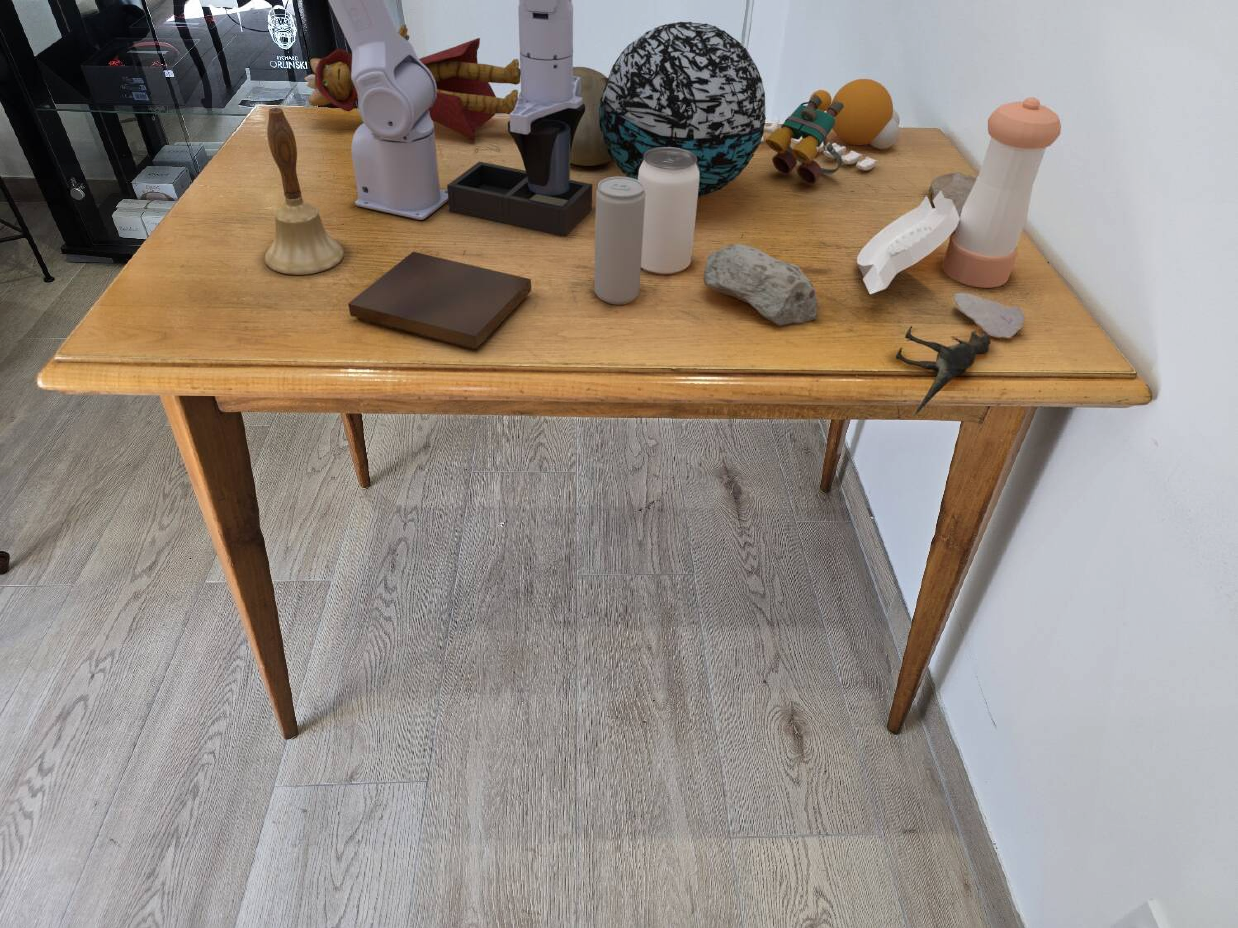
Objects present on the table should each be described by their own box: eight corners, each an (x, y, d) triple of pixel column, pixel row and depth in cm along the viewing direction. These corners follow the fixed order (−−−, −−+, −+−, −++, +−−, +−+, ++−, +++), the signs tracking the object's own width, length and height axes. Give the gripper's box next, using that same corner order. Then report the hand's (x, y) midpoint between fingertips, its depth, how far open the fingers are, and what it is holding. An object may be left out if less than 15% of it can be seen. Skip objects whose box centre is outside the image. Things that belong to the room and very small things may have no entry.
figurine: (513, 137, 118) (293, 130, 119) (527, 169, 131) (328, 162, 132) (519, 18, 118) (299, 11, 119) (531, 61, 131) (332, 55, 132)
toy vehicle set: (866, 165, 119) (862, 178, 121) (879, 157, 122) (876, 170, 123) (791, 136, 125) (789, 149, 126) (806, 129, 127) (803, 142, 128)
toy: (806, 171, 128) (910, 155, 127) (807, 105, 121) (917, 88, 120) (793, 141, 134) (893, 126, 133) (794, 78, 127) (898, 61, 127)
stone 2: (1006, 348, 89) (1014, 332, 88) (938, 317, 92) (945, 301, 91) (1027, 325, 92) (1034, 309, 91) (961, 295, 95) (967, 279, 94)
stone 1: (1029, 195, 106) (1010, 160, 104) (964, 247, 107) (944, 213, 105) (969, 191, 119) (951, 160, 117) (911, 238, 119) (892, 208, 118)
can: (697, 255, 101) (708, 151, 93) (681, 280, 96) (692, 174, 88) (643, 244, 102) (649, 141, 95) (625, 269, 98) (630, 163, 90)
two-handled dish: (981, 189, 103) (976, 175, 102) (925, 274, 86) (918, 258, 86) (900, 222, 110) (894, 209, 109) (833, 307, 93) (826, 292, 93)
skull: (598, 94, 130) (609, 25, 120) (625, 189, 123) (639, 124, 113) (521, 98, 127) (526, 27, 117) (544, 194, 120) (551, 128, 110)
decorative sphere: (637, 239, 103) (648, 57, 90) (572, 172, 117) (573, 7, 104) (784, 214, 110) (814, 41, 97) (706, 154, 123) (723, -4, 110)
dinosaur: (925, 325, 92) (988, 355, 90) (852, 404, 79) (923, 442, 76) (939, 295, 90) (1004, 325, 88) (866, 372, 76) (941, 409, 74)
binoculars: (770, 180, 123) (754, 129, 114) (810, 132, 124) (797, 77, 115) (825, 203, 118) (812, 150, 109) (866, 153, 119) (856, 97, 110)
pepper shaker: (974, 293, 96) (1035, 115, 84) (928, 264, 101) (979, 91, 89) (1022, 280, 99) (1088, 106, 87) (974, 252, 104) (1031, 83, 91)
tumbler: (520, 190, 103) (518, 130, 99) (538, 175, 107) (537, 116, 102) (559, 198, 102) (559, 138, 97) (576, 182, 106) (577, 123, 101)
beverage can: (634, 309, 91) (640, 199, 83) (589, 303, 92) (591, 193, 84) (642, 287, 95) (649, 179, 87) (599, 281, 95) (602, 173, 88)
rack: (449, 211, 107) (446, 185, 105) (480, 186, 113) (479, 161, 111) (565, 236, 103) (565, 210, 101) (592, 209, 109) (592, 184, 107)
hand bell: (359, 250, 98) (335, 104, 88) (310, 282, 93) (278, 130, 82) (300, 233, 101) (270, 89, 91) (248, 264, 95) (210, 114, 85)
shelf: (351, 321, 87) (347, 303, 86) (415, 268, 96) (412, 251, 95) (476, 354, 84) (475, 336, 83) (531, 296, 92) (531, 279, 91)
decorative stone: (694, 317, 91) (699, 273, 87) (708, 268, 99) (713, 226, 95) (814, 334, 89) (824, 290, 86) (818, 283, 97) (827, 241, 94)
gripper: (552, 77, 89) (553, 205, 97) (606, 40, 99) (602, 159, 108) (489, 66, 90) (496, 193, 99) (548, 32, 101) (550, 149, 110)
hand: (548, 175), depth 104 cm, fingers closed on tumbler, 5 cm apart
